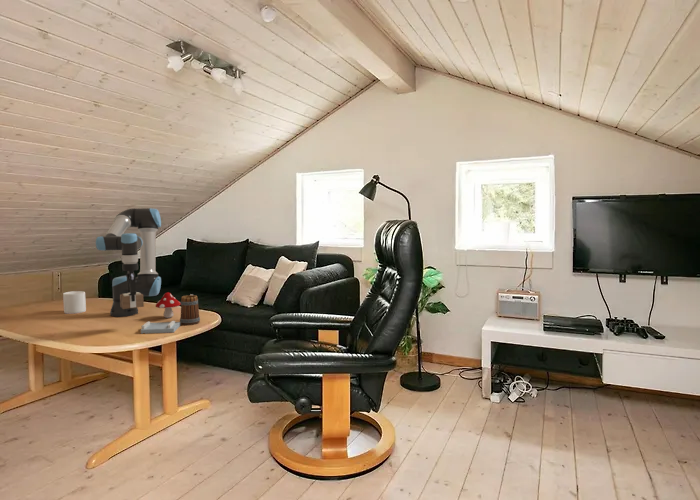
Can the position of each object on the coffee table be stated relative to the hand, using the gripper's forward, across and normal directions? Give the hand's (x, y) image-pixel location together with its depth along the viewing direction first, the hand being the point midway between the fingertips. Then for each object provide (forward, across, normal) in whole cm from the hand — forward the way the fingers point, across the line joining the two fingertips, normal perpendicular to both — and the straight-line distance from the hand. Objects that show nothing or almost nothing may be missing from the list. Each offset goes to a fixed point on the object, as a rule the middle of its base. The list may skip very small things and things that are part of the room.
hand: (132, 305), depth 242 cm
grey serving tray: (+12, +11, +12) cm, 20 cm away
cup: (+13, -65, -24) cm, 71 cm away
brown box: (0, 0, 0) cm, 0 cm away
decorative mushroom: (+13, -16, +21) cm, 30 cm away
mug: (+12, +2, +29) cm, 32 cm away
